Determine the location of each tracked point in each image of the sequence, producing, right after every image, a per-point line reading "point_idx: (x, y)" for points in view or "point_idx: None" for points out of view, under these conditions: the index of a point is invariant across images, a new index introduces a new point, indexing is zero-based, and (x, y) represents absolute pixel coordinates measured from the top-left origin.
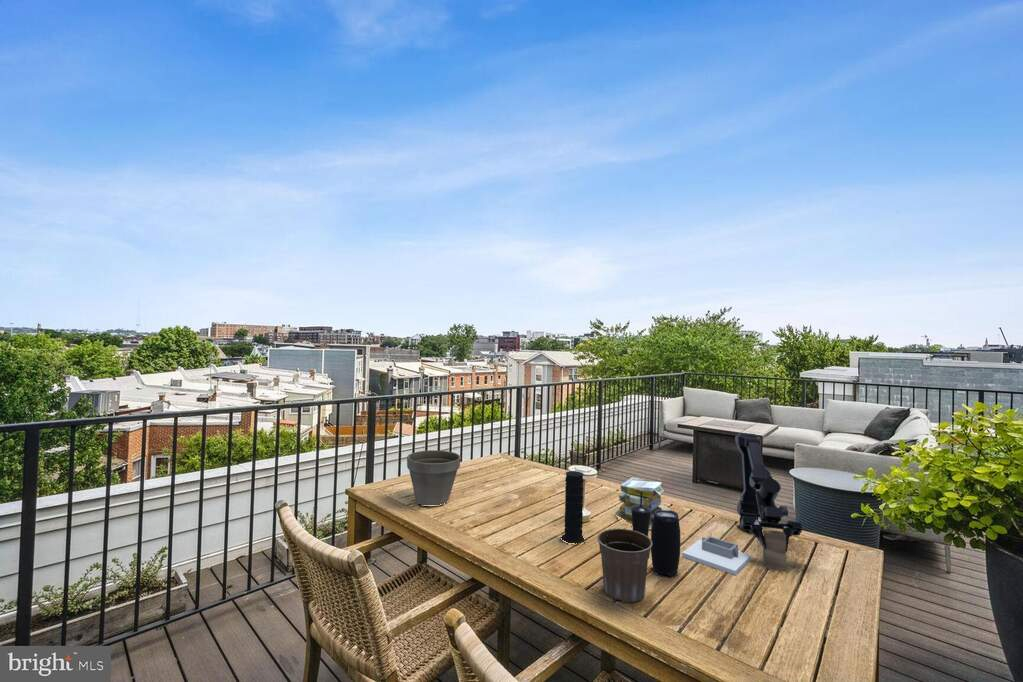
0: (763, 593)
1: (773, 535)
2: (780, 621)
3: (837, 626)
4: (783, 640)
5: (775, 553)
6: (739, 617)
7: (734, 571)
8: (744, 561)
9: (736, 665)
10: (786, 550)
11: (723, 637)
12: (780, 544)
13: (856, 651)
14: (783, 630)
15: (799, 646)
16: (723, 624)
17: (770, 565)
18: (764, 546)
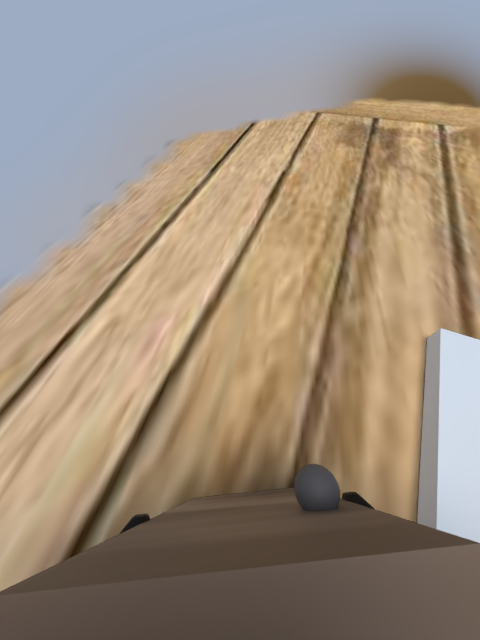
0: (315, 258)
1: (299, 547)
2: (283, 181)
3: (171, 198)
4: (285, 149)
5: (250, 502)
6: (360, 169)
7: (442, 332)
8: (439, 472)
9: (347, 110)
10: (142, 515)
11: (374, 132)
12: (188, 528)
13: (175, 159)
14: (281, 165)
15: (262, 146)
16: (383, 150)
17: (279, 491)
18: (368, 505)
